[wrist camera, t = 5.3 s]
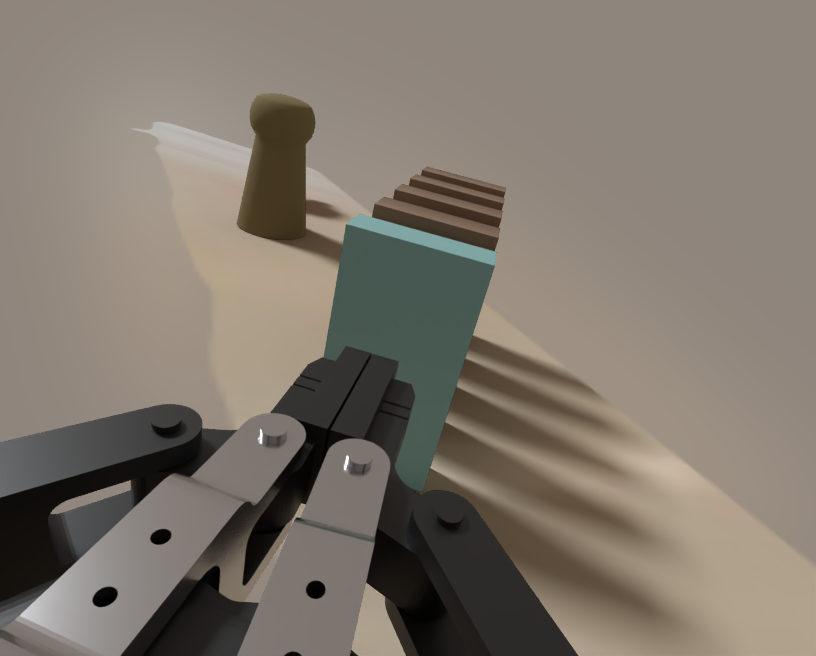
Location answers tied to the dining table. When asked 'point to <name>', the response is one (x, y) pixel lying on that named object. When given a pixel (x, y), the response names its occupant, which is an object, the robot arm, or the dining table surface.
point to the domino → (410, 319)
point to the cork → (277, 168)
